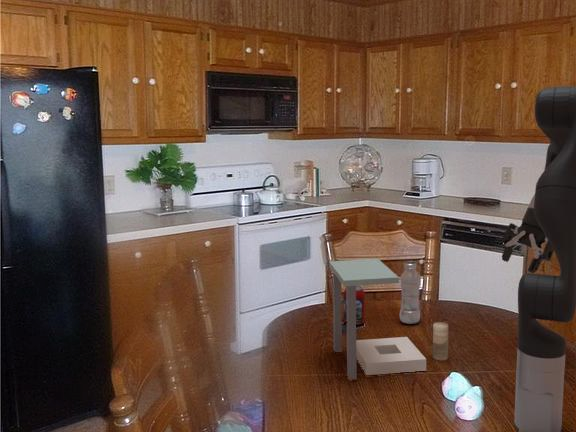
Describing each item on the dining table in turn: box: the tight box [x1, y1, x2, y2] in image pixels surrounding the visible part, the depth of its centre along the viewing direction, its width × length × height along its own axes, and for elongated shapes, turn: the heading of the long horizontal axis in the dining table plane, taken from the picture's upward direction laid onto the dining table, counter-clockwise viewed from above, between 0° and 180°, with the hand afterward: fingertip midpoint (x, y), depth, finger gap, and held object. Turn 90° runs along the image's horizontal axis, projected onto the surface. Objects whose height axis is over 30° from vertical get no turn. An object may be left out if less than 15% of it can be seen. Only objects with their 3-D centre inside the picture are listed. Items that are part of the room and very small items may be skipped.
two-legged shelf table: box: [328, 258, 400, 380], centre depth 156 cm, size 14×20×26 cm
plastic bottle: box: [399, 260, 422, 325], centre depth 187 cm, size 6×7×20 cm
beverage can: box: [343, 285, 366, 324], centre depth 189 cm, size 7×7×12 cm
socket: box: [356, 336, 427, 376], centre depth 159 cm, size 16×16×4 cm
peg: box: [432, 321, 449, 361], centre depth 160 cm, size 4×4×10 cm
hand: (517, 266), depth 158 cm, fingers open, 8 cm apart
